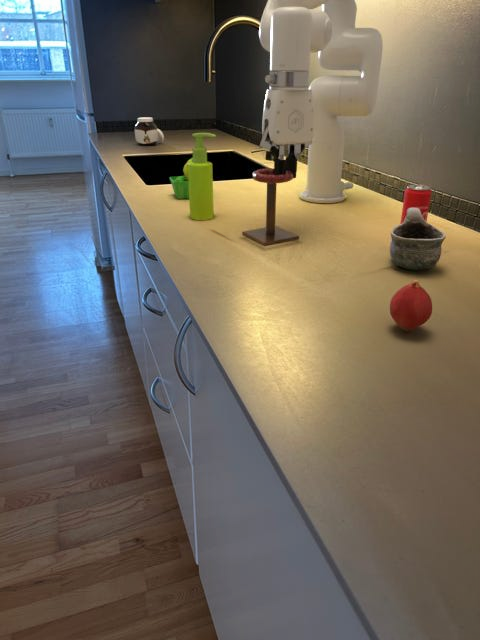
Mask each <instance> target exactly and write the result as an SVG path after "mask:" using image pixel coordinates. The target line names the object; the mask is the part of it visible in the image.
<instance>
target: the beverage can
mask: <svg viewBox="0 0 480 640" xmlns="http://www.w3.org/2000/svg"><path fill="white" fill-rule="evenodd" d="M431 189H432V187H431V186H429V185H425V184H408V185H407V186H406V189H405V190H404V196H403V204H402V209H401V210H402V211H401V217H400V224H402V223H403V222H404V220H405V218H406V212H407V210H408V209H409V208H418V209H420V212H421V215H422V217H423V219H424V220H425V221H426V222H427V223H428V216H429V210H430V203H431V197H432V190H431ZM400 224H399V225H400Z"/></svg>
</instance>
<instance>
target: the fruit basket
mask: <svg viewBox="0 0 480 640" xmlns="http://www.w3.org/2000/svg"><path fill="white" fill-rule="evenodd" d="M190 162H193V157H191V158H190V159H188V160H187V162H186V163H185V164H184V166H183V169H182V171H183V175H180V176H169V181H170V183H171V186H172V190H173V193H174V196H175V197H176V198H177V199H180V200H183V199H189V179H188V163H190Z"/></svg>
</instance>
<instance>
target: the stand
mask: <svg viewBox="0 0 480 640" xmlns="http://www.w3.org/2000/svg"><path fill="white" fill-rule="evenodd" d="M277 184H278V183H266V204H265V205H266V208H265V209H266V210H265V227H260V228H255V229H250V230H244V231H242V232H241V236H243V237H245V238H247V239H249V240H250V241H252V242H255V243H257V244H259V245H261V246H263V247H268V246H272V245H278V244H282V243H283V244H284V243H288V242H293V241H297V240H298V241H299V240H300V235H297V234H295V233H294V232H290V231H288V230H286V229H284V228H282V227H279V226H277V225H276V214H277Z"/></svg>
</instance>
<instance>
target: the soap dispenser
mask: <svg viewBox="0 0 480 640" xmlns="http://www.w3.org/2000/svg"><path fill="white" fill-rule="evenodd" d="M191 135H192V138H195V146H194V147H192V149H191V150H192V158H193V162H190V163H188V179H189V198H188V199H189V217H190V219H192V220H193V221H208V220H212V219H213V218H214V214H215V213H214V178H213V177H214V176H213V173H214V172H213V163H212V162H211V161H208V150H207V147H205V146H204V137H205V138H206V137H207V138H212V139H213V138H216V137H217V135H216V134H214V133H210V132H194V133H192V134H191Z"/></svg>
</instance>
